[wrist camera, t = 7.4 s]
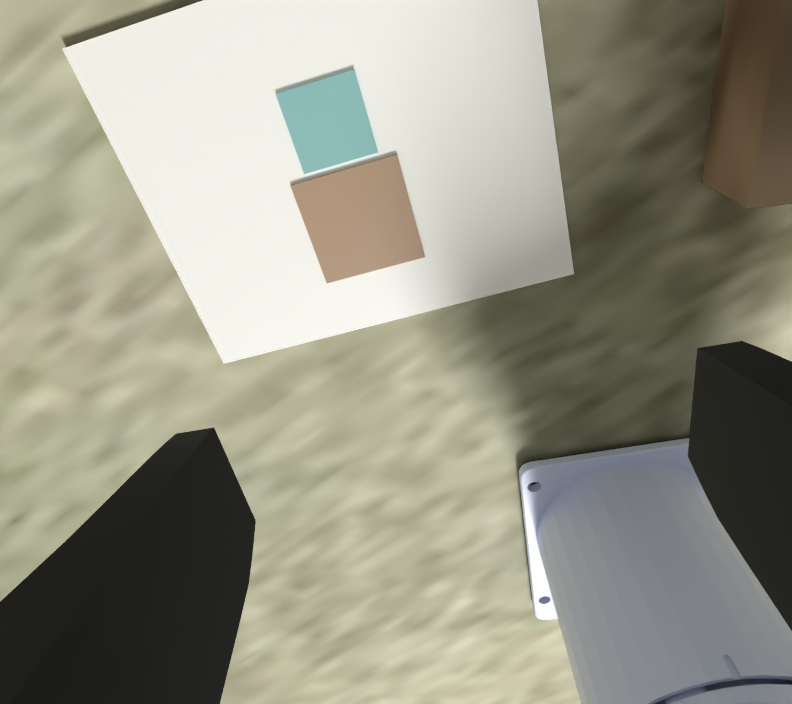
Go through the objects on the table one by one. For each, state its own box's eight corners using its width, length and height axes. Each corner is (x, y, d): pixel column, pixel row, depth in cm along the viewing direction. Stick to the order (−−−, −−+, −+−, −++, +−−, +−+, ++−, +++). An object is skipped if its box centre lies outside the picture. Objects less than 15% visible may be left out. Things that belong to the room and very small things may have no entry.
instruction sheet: (572, 271, 19) (575, 275, 19) (225, 360, 20) (222, 365, 20) (520, -109, 14) (523, -110, 14) (65, 48, 15) (60, 48, 15)
